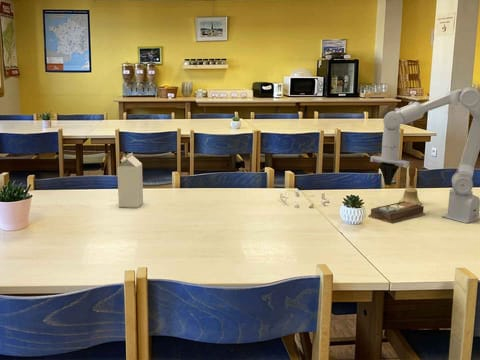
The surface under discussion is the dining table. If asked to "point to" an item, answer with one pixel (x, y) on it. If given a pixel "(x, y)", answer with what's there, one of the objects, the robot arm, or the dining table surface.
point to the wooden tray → (397, 213)
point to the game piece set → (309, 196)
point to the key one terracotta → (407, 204)
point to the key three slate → (387, 209)
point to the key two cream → (397, 207)
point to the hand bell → (411, 188)
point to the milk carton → (130, 182)
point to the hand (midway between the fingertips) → (387, 184)
